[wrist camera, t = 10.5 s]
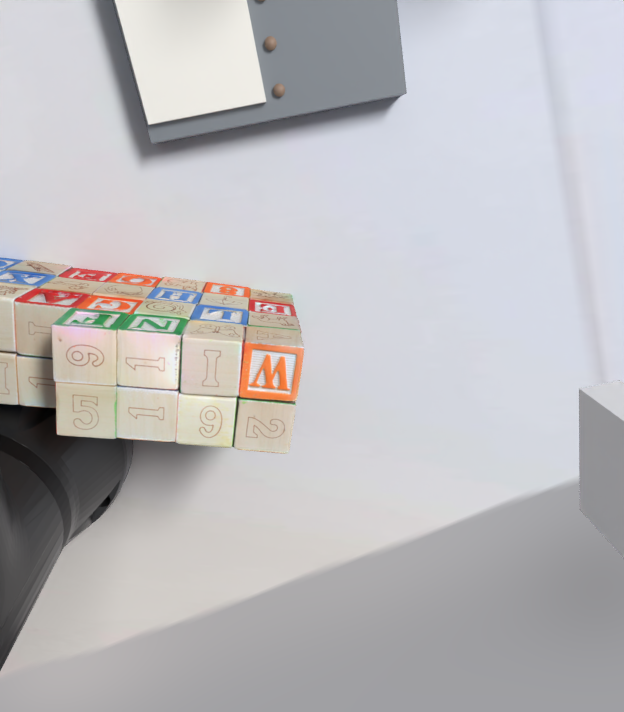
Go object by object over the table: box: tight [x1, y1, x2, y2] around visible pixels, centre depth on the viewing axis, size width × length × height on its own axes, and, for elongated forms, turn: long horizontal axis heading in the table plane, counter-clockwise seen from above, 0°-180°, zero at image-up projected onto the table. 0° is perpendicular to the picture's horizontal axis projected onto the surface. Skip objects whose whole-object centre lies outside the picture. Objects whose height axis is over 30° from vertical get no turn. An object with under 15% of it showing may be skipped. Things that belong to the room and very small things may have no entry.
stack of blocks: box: [0, 258, 304, 453], centre depth 32 cm, size 21×6×12 cm, turn 82°
